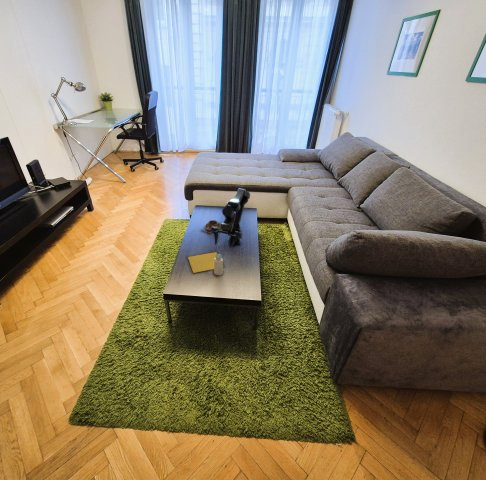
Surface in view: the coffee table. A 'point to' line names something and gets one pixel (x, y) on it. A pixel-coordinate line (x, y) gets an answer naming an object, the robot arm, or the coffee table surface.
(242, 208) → the robot arm
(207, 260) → the cloth
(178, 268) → the coffee table surface
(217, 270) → the bottle
